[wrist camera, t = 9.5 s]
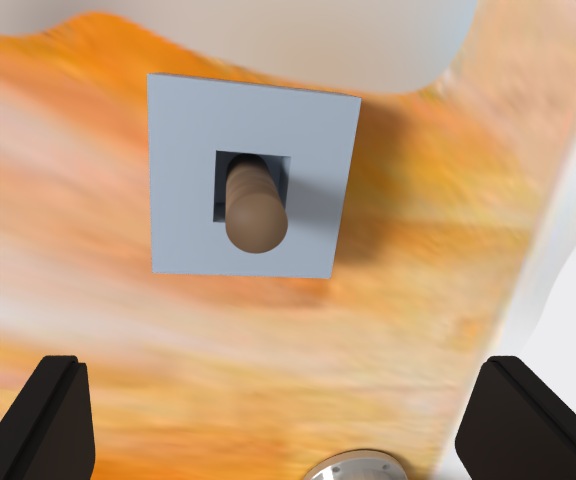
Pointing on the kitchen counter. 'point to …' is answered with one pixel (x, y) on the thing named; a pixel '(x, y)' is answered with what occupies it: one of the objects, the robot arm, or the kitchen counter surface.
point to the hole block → (217, 155)
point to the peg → (253, 206)
